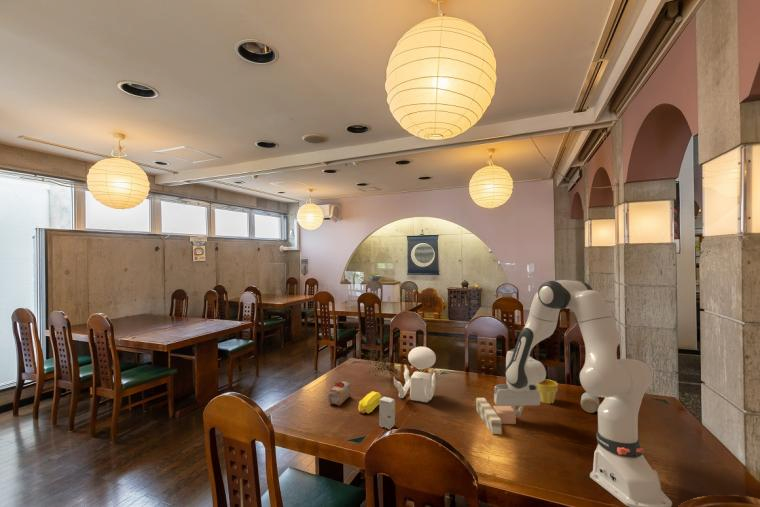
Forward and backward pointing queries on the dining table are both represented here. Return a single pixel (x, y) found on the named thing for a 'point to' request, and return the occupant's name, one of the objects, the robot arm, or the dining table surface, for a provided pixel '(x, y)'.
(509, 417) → the peach block
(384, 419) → the skincare box
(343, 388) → the food item
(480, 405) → the white segmented block row
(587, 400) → the ceramic mug
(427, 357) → the figurine
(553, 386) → the plant pot
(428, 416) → the dining table surface
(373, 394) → the yellow rounded capsule
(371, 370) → the dried plant
